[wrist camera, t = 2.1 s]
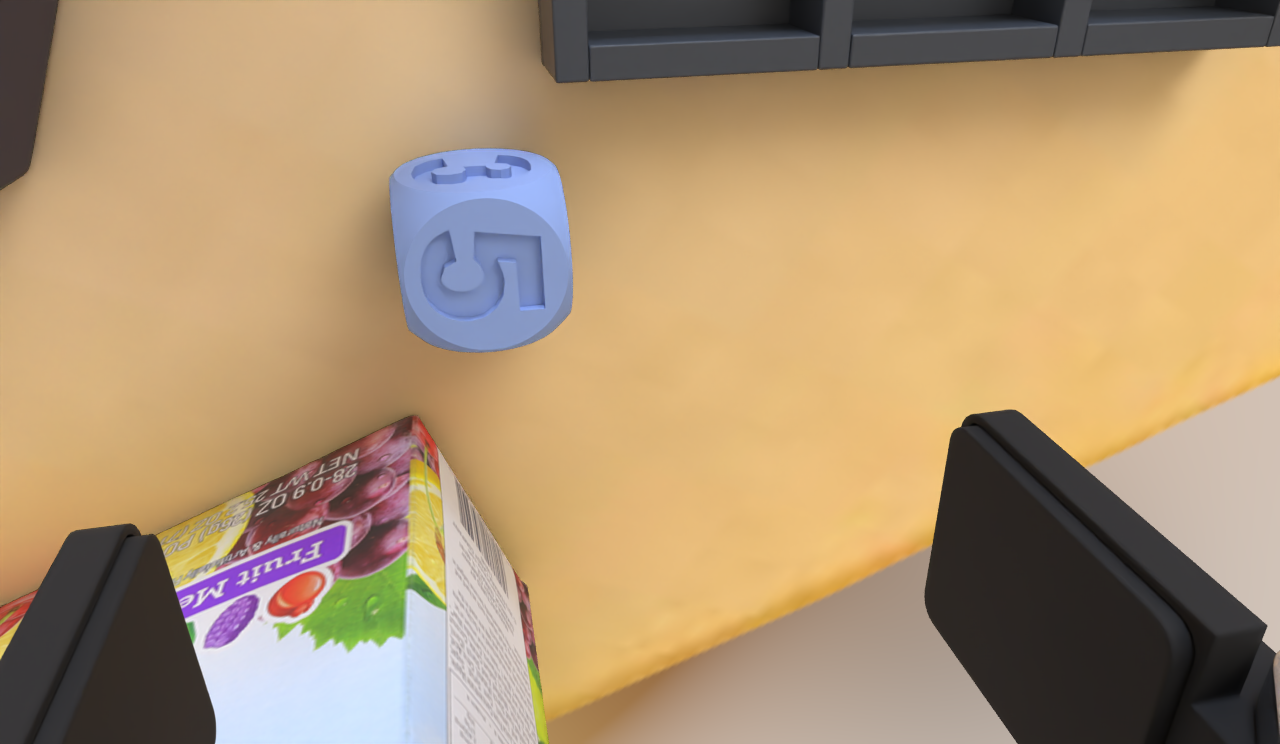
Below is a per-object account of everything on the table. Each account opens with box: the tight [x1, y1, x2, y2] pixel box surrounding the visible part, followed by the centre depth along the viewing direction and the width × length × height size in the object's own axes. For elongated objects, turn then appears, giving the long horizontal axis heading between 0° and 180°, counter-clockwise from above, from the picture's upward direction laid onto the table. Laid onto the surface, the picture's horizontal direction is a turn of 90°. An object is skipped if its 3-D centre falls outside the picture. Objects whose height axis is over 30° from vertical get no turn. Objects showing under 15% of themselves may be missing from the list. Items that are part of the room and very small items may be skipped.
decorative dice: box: [389, 148, 573, 353], centre depth 23 cm, size 4×4×4 cm
